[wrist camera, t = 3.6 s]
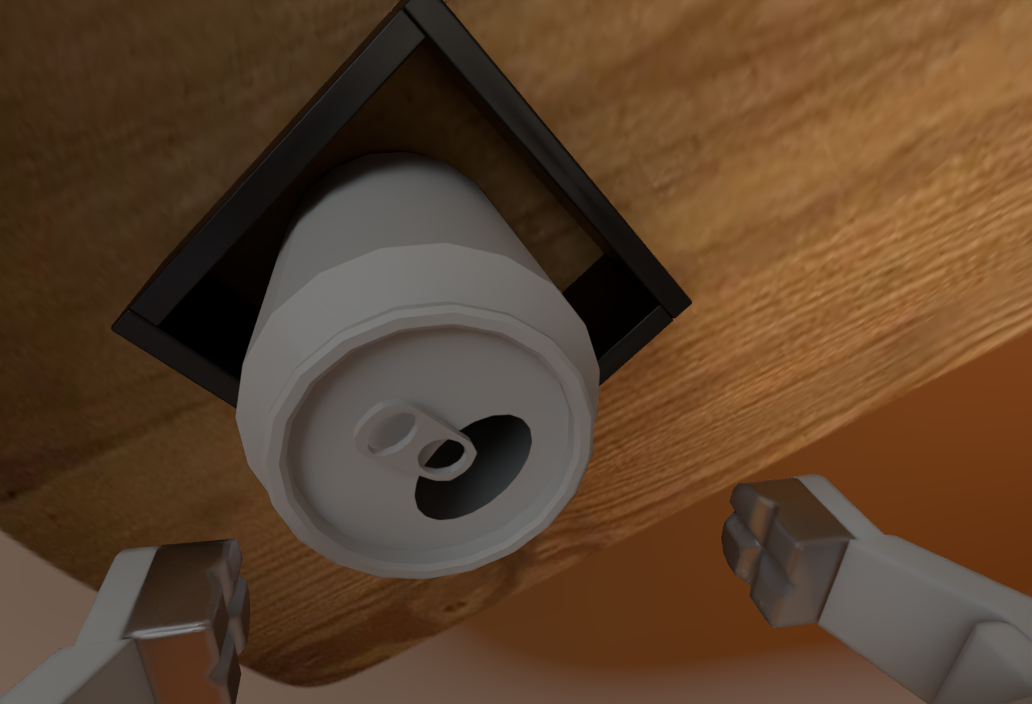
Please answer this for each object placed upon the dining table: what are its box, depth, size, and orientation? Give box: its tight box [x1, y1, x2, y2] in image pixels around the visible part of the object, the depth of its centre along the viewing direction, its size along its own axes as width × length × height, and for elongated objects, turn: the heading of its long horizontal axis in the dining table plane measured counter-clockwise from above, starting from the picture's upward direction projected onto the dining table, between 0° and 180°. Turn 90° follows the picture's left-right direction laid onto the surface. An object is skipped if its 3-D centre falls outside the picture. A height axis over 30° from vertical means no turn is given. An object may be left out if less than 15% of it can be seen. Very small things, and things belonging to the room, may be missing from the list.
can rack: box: [111, 0, 692, 409], centre depth 20 cm, size 12×12×5 cm
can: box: [236, 152, 600, 579], centre depth 17 cm, size 8×8×12 cm
